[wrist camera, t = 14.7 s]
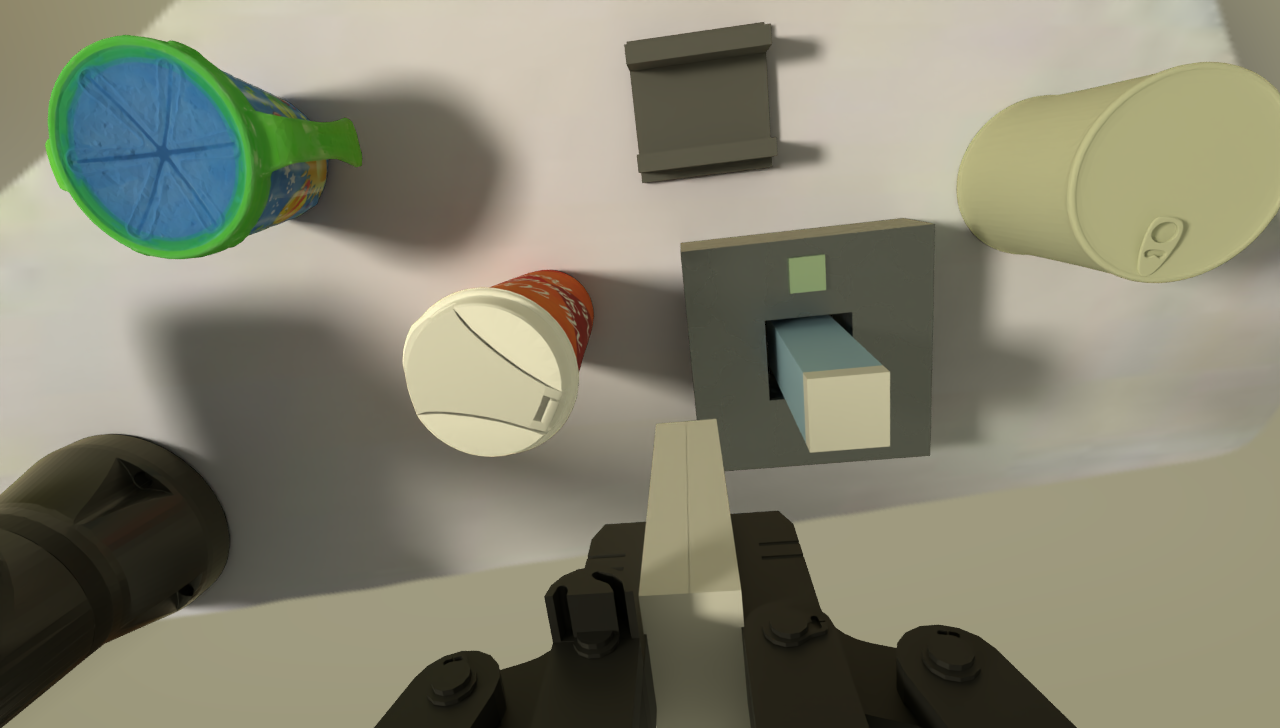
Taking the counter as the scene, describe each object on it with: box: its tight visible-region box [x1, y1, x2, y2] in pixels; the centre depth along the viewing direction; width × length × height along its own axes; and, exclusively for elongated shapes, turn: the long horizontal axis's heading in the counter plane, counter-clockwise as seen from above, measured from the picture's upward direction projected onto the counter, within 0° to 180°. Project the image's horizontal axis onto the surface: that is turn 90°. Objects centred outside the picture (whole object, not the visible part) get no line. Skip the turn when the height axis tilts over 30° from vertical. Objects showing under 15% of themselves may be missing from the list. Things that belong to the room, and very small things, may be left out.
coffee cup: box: [402, 270, 594, 457], centre depth 35 cm, size 8×8×15 cm
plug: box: [766, 314, 890, 453], centre depth 34 cm, size 4×4×14 cm
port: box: [681, 218, 935, 471], centre depth 39 cm, size 14×14×5 cm
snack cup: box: [45, 35, 362, 259], centre depth 35 cm, size 16×10×10 cm
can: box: [957, 62, 1280, 283], centre depth 32 cm, size 9×9×12 cm
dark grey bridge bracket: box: [624, 22, 777, 183], centre depth 36 cm, size 8×8×3 cm
